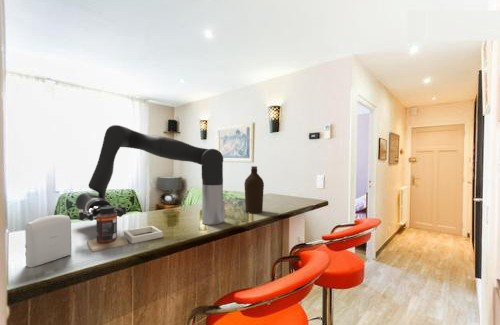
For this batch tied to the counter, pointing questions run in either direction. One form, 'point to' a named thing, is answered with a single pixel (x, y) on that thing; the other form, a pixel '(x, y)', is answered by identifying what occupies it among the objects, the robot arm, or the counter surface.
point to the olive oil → (254, 192)
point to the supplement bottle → (106, 225)
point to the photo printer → (47, 239)
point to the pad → (106, 244)
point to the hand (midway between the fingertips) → (106, 215)
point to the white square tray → (133, 239)
